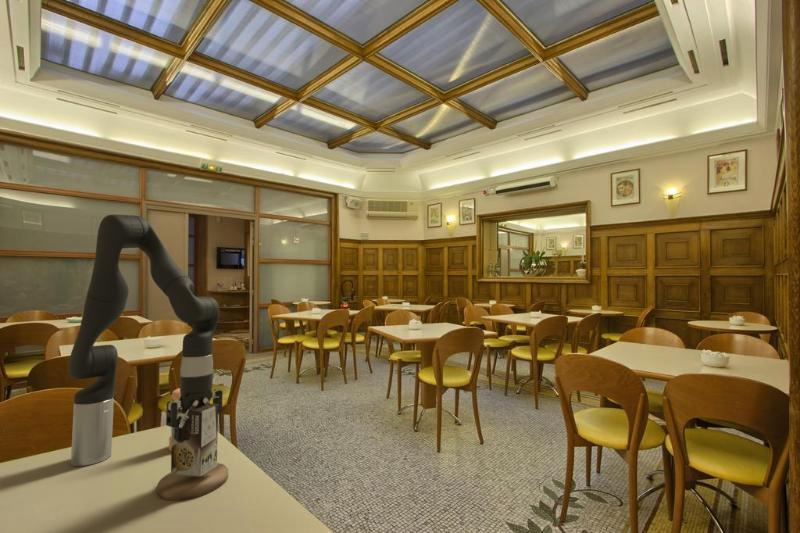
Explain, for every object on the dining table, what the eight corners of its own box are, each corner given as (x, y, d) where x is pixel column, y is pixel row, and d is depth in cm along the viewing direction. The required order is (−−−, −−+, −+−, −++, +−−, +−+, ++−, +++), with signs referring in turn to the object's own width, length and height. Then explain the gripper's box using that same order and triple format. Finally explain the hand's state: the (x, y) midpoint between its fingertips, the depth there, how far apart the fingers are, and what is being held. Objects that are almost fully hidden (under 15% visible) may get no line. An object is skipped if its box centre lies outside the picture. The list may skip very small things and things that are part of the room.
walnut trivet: (143, 489, 92) (143, 483, 92) (203, 463, 106) (203, 457, 106) (181, 507, 85) (182, 500, 85) (241, 476, 99) (241, 470, 99)
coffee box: (218, 465, 98) (219, 403, 99) (200, 477, 91) (202, 411, 92) (188, 462, 100) (190, 401, 101) (169, 474, 93) (171, 409, 94)
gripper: (178, 379, 89) (175, 449, 88) (230, 368, 102) (228, 429, 101) (160, 376, 93) (158, 443, 92) (212, 366, 105) (211, 425, 104)
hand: (195, 436), depth 96 cm, fingers closed on coffee box, 7 cm apart
